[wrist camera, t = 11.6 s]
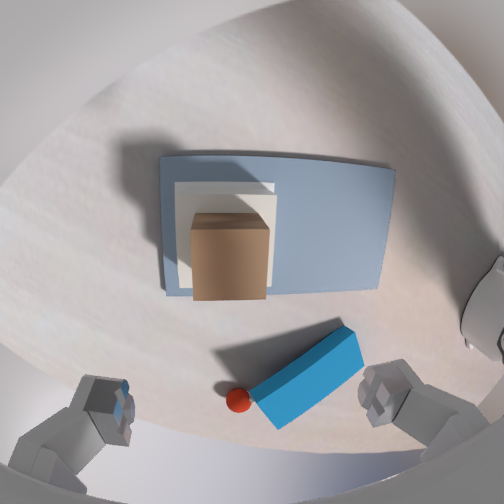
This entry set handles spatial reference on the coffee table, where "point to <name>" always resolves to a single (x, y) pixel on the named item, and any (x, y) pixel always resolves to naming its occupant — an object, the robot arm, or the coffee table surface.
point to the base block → (219, 202)
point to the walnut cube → (229, 256)
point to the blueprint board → (295, 217)
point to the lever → (303, 379)
